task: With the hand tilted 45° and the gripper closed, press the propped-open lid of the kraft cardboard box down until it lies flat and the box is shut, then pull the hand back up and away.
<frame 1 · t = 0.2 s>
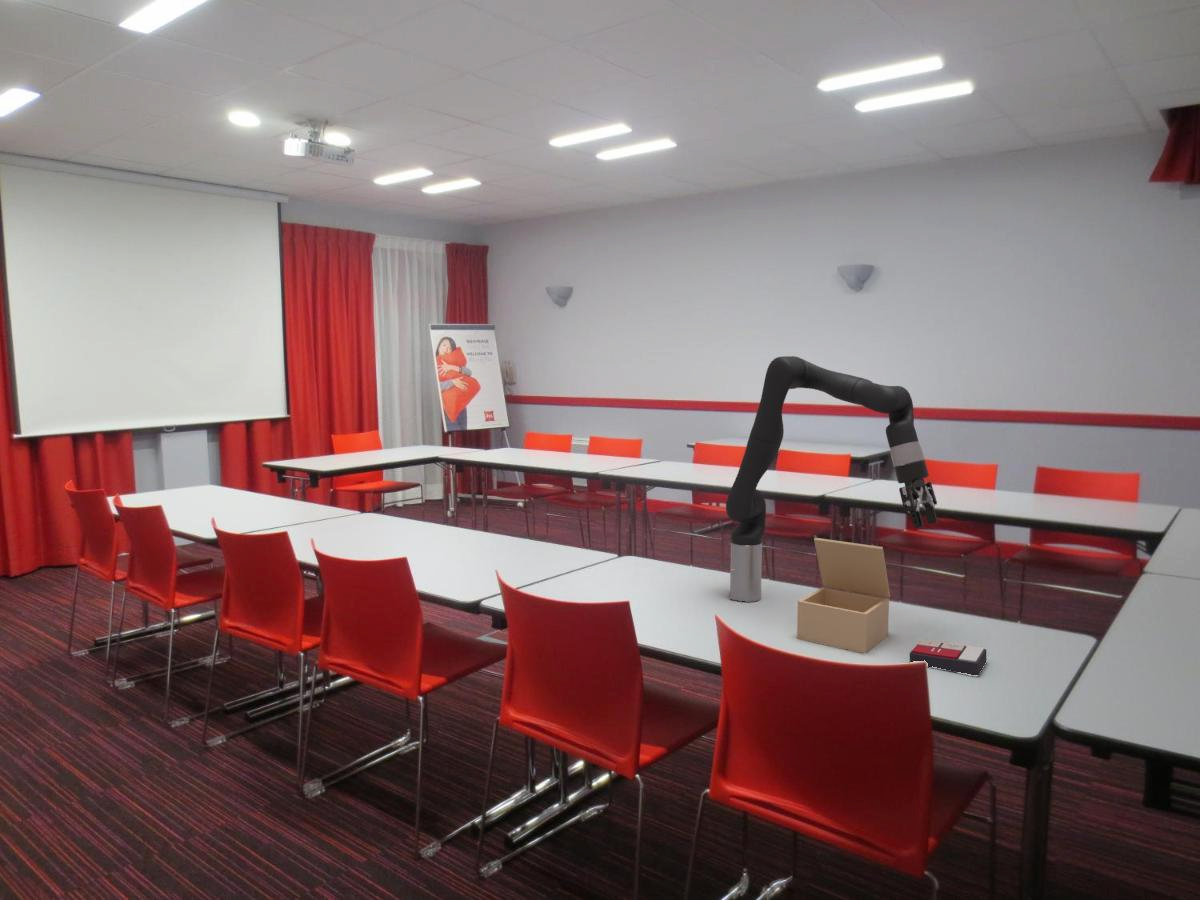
hand: (926, 525, 200), 31 cm above the table, tool tilted 20°, fingers open, 8 cm apart
box: (842, 637, 209), on the table
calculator: (947, 665, 192), on the table
lid: (851, 567, 211), point 18 cm above the table, hinge at 65.0°
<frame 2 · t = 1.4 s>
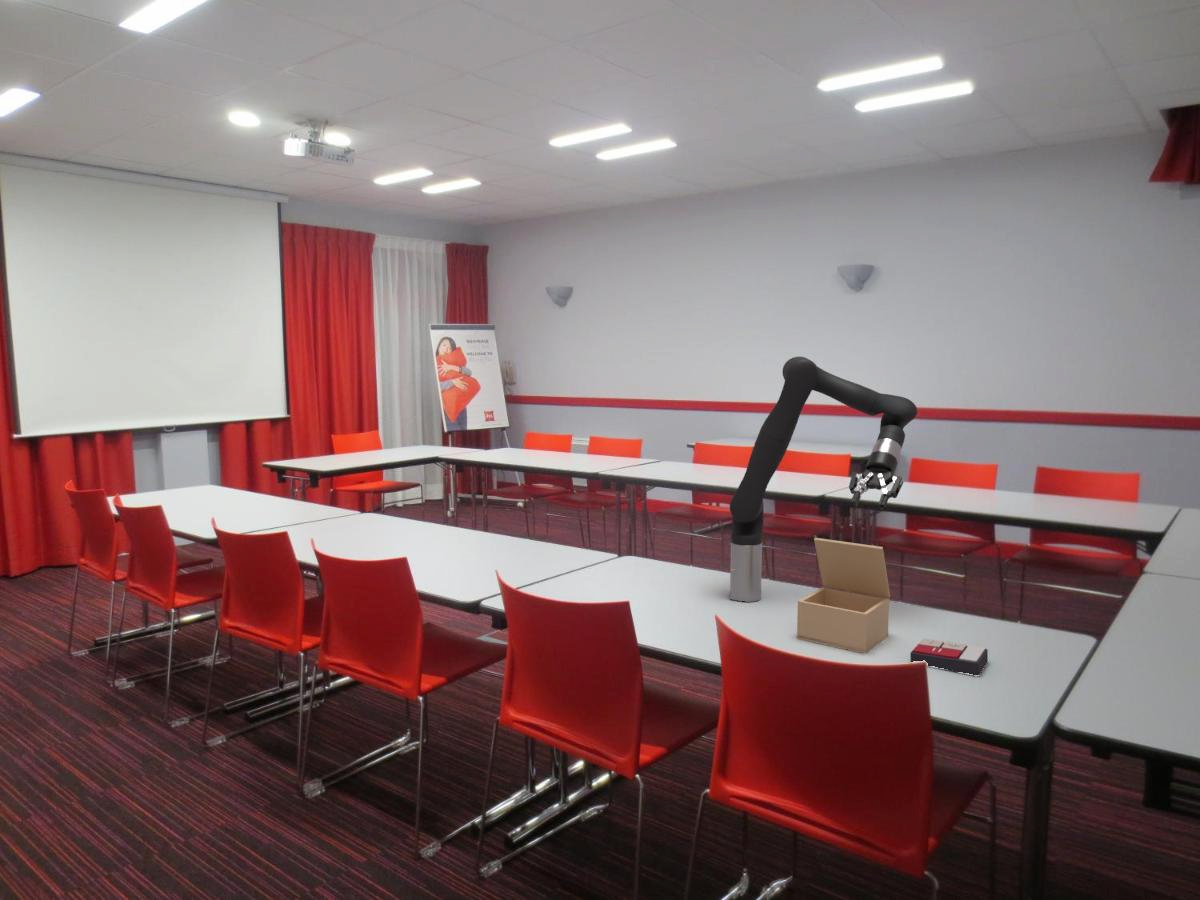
hand: (867, 506, 218), 32 cm above the table, tool tilted 45°, fingers open, 6 cm apart
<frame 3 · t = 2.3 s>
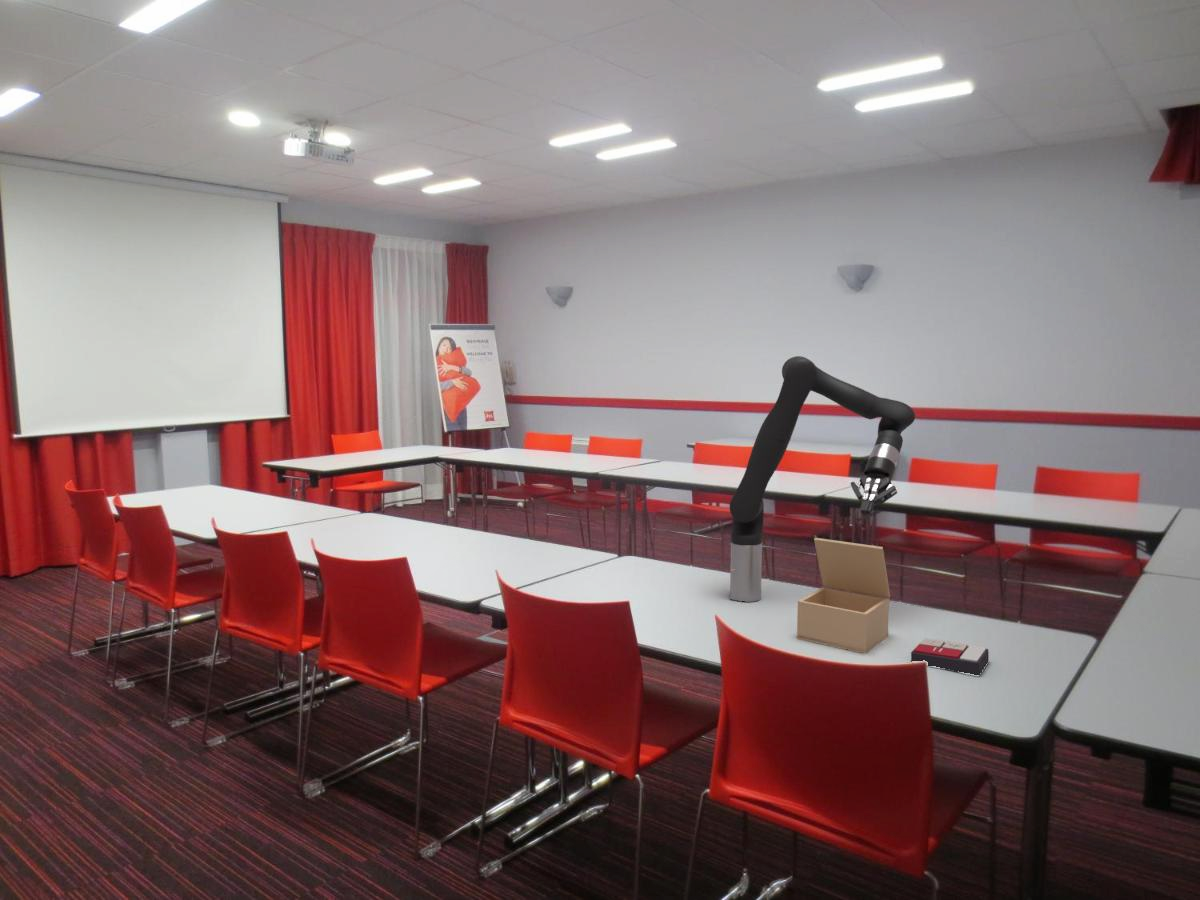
hand: (864, 513, 216), 31 cm above the table, tool tilted 45°, fingers closed
nothing on the table moved.
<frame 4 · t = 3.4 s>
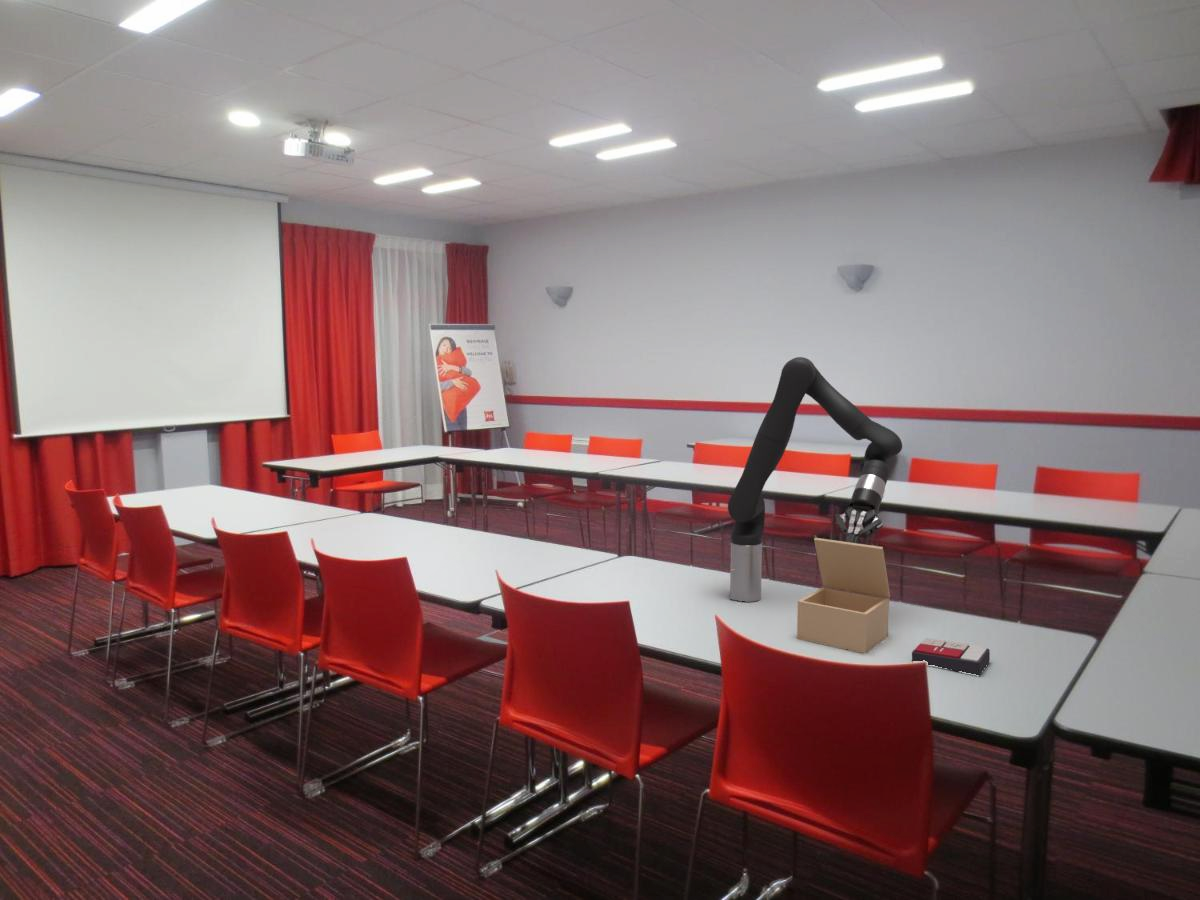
hand: (849, 548, 209), 23 cm above the table, tool tilted 45°, fingers closed
lid: (851, 567, 211), point 18 cm above the table, hinge at 65.0°, touching gripper
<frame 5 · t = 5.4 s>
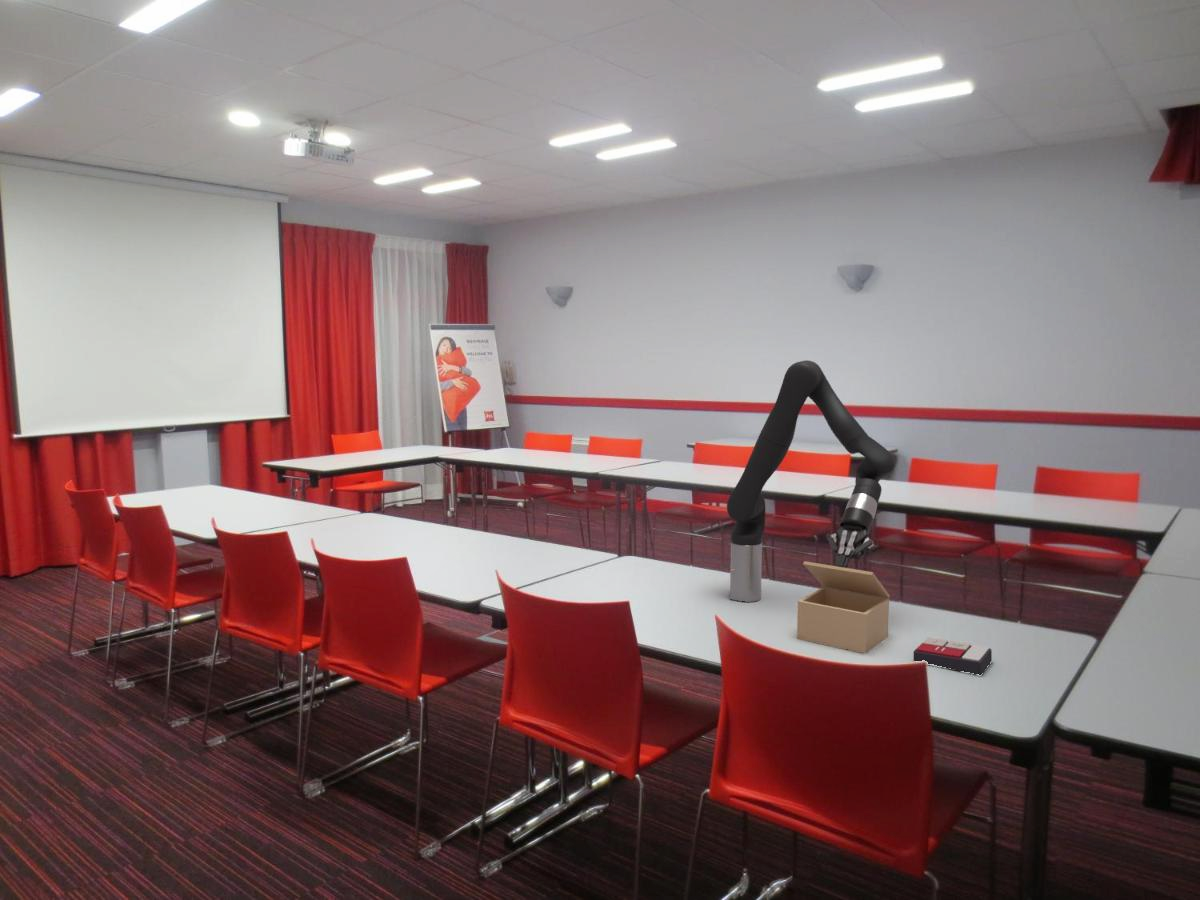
hand: (840, 569, 205), 19 cm above the table, tool tilted 45°, fingers closed
lid: (846, 579, 209), point 15 cm above the table, hinge at 34.8°, touching gripper
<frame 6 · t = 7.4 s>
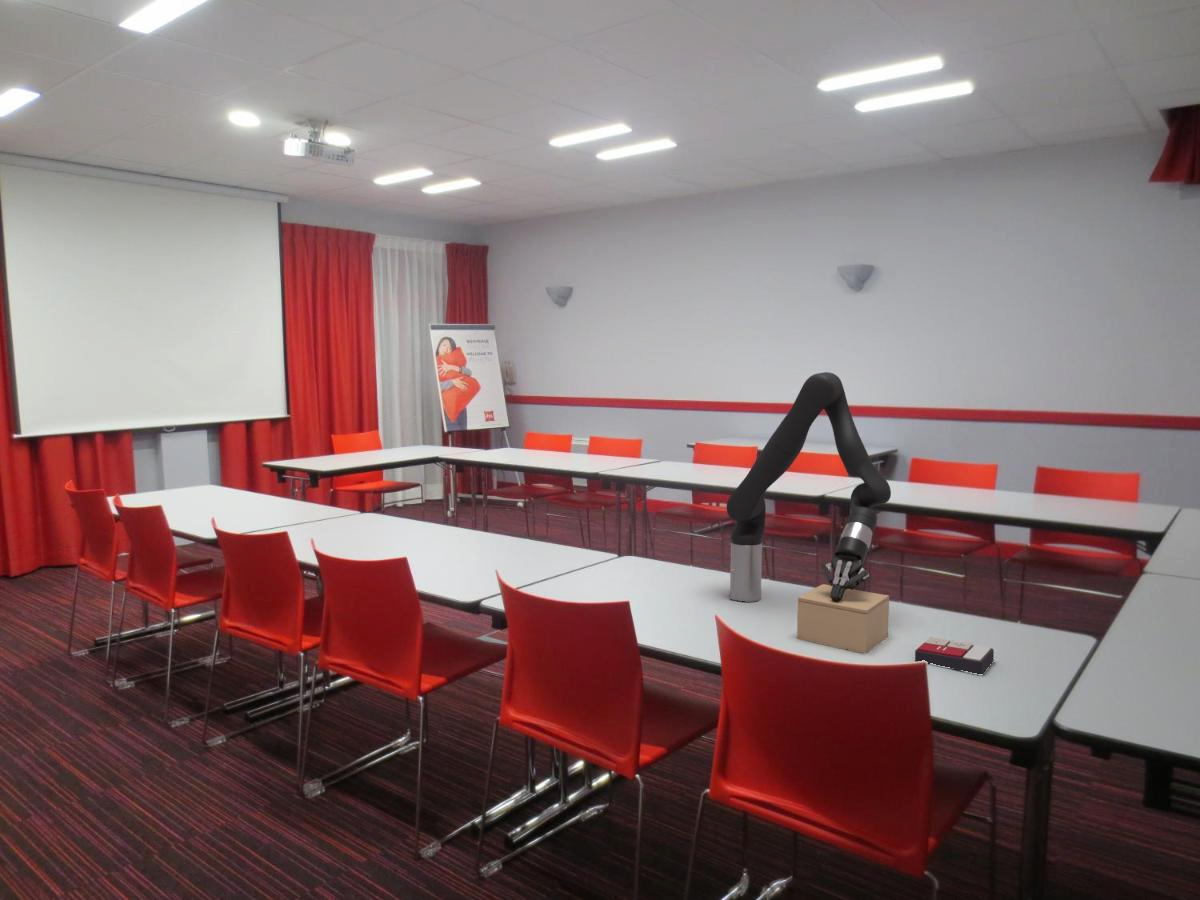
hand: (834, 600, 203), 11 cm above the table, tool tilted 45°, fingers closed
lid: (843, 598, 208), point 11 cm above the table, hinge at 0.2°, touching gripper
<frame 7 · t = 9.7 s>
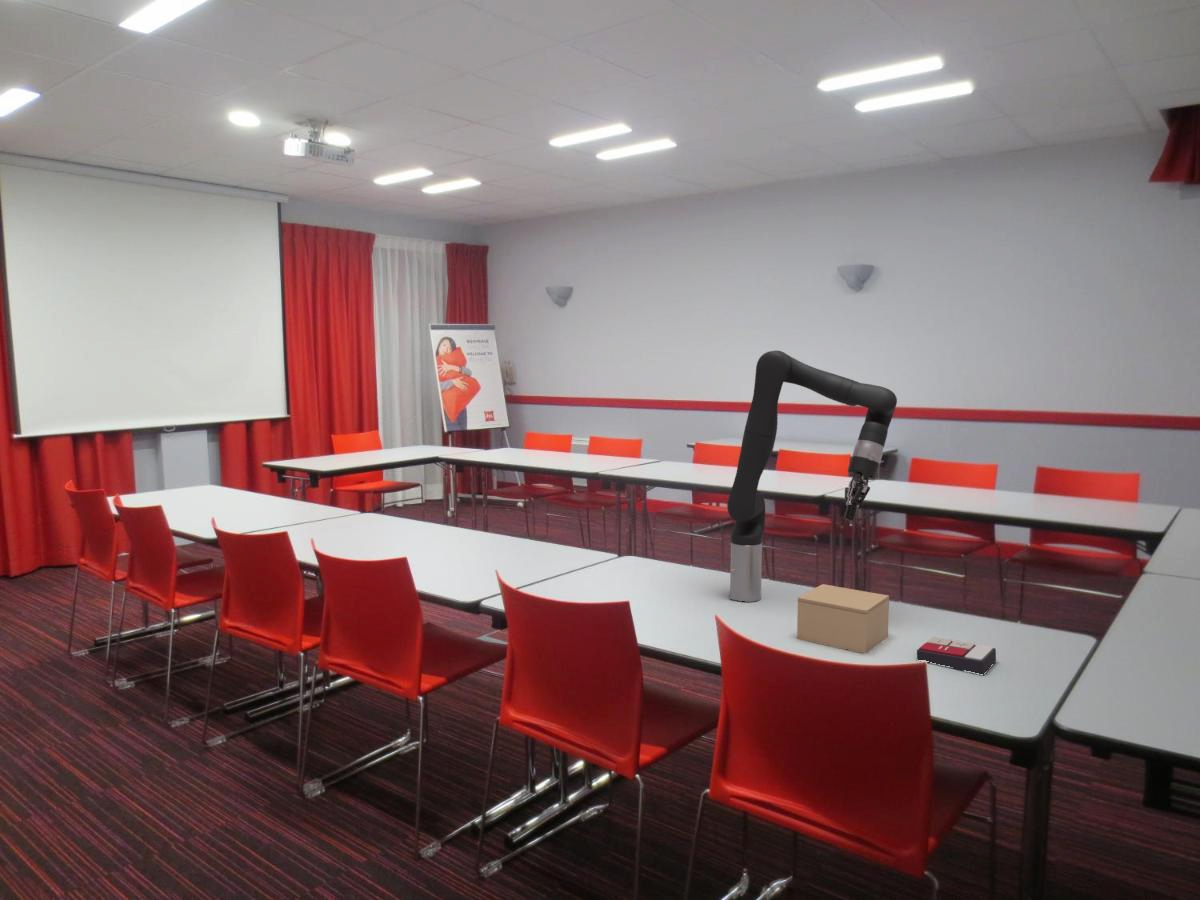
hand: (848, 519, 217), 29 cm above the table, tool tilted 25°, fingers closed
lid: (843, 598, 208), point 11 cm above the table, hinge at 0.2°
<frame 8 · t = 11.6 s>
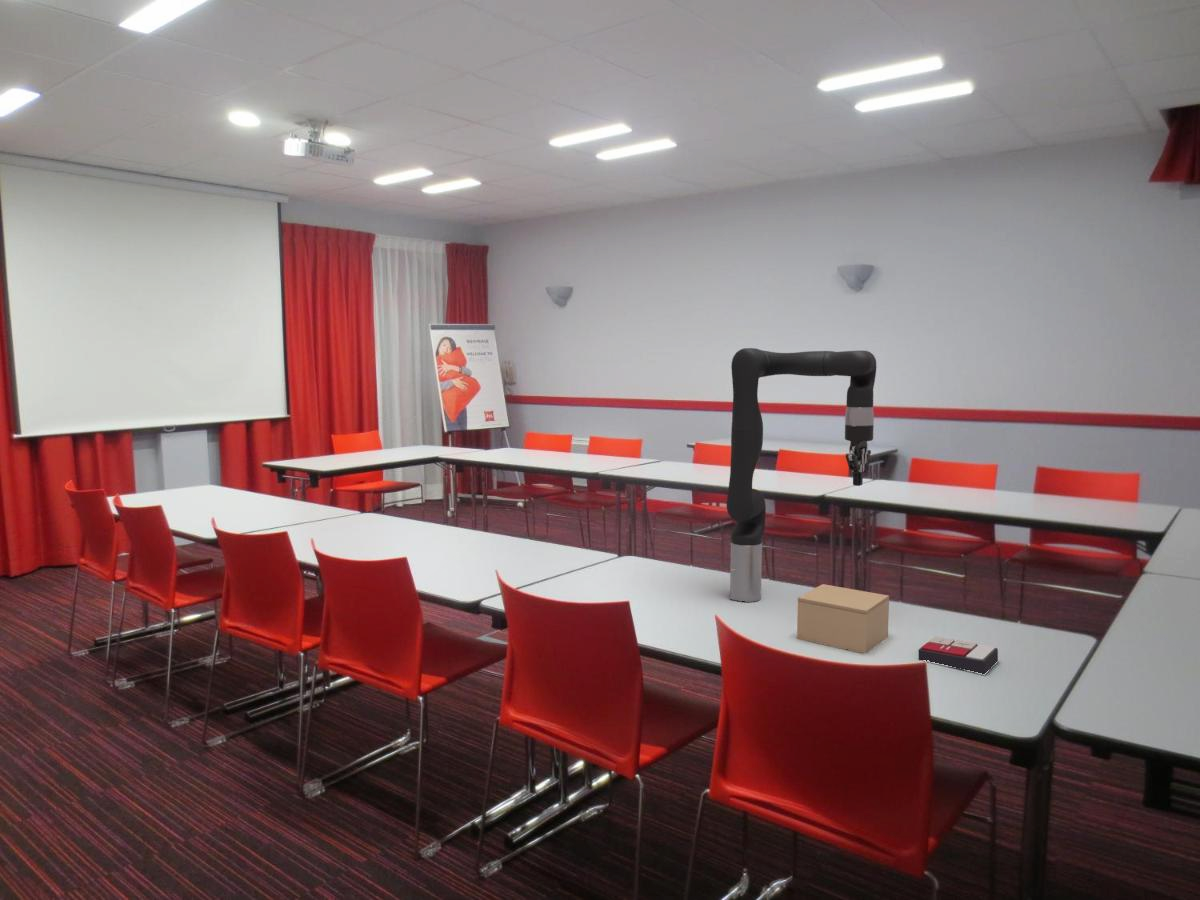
hand: (857, 485, 224), 37 cm above the table, tool pointing down, fingers closed
at the end: lid at +0° (first picture: +65°); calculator moved 3.4 cm from its start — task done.
